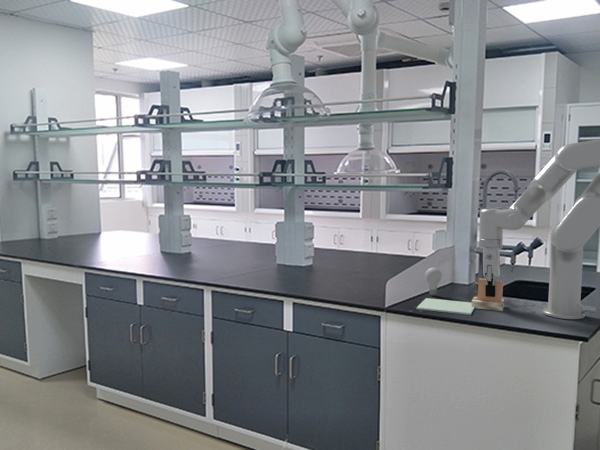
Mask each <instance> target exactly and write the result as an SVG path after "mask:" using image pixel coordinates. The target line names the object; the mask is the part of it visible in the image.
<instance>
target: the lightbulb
mask: <svg viewBox="0 0 600 450" xmlns="http://www.w3.org/2000/svg"><path fill="white" fill-rule="evenodd" d="M442 275H443V274H442V271H441V270H440V269H439V268H437V267H428V269H427V270H426V271H425V275H424V276H425V279H426V281H427V283H428V290H429V294H430V295H431V296H432V297H433V296H434V297H435V295H437V289H438V285H439V282H440V281H441V279H442Z"/></svg>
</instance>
